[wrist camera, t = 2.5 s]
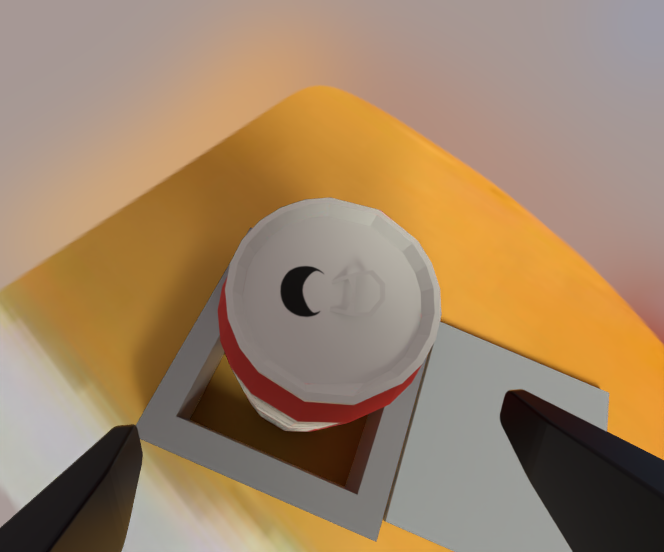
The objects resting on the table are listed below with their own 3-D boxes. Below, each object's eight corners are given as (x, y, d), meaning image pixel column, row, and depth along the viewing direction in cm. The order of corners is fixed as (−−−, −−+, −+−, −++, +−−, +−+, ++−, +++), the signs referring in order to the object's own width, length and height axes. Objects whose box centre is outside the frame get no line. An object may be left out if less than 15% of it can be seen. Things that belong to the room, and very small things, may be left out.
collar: (360, 526, 17) (376, 541, 14) (151, 435, 17) (130, 434, 14) (420, 323, 21) (440, 307, 19) (252, 252, 21) (250, 227, 19)
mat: (590, 609, 17) (597, 613, 16) (383, 519, 17) (385, 521, 17) (603, 393, 21) (608, 392, 21) (436, 323, 21) (439, 321, 21)
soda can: (356, 327, 21) (452, 197, 10) (351, 436, 18) (470, 429, 7) (253, 316, 20) (232, 165, 9) (235, 427, 18) (179, 406, 7)
